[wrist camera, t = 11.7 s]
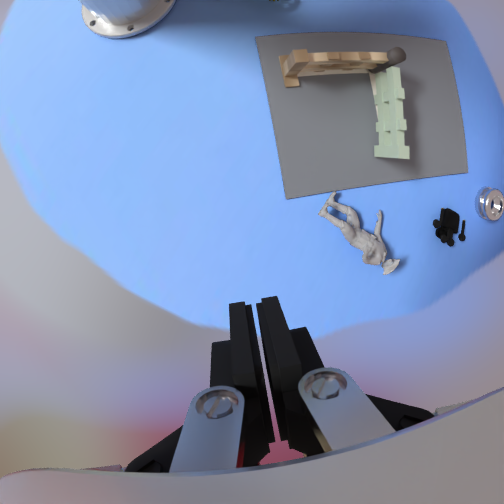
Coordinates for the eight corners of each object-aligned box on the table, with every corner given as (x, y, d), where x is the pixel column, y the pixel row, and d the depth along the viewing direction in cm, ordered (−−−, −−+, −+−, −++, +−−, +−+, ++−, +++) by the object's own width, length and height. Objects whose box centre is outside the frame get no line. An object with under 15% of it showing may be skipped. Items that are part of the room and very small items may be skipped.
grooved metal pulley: (487, 222, 40) (497, 194, 39) (499, 227, 38) (509, 198, 36) (470, 210, 40) (480, 180, 38) (483, 214, 37) (493, 183, 35)
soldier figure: (342, 176, 38) (416, 232, 37) (325, 201, 42) (395, 252, 41) (319, 212, 33) (405, 275, 32) (301, 237, 37) (381, 294, 36)
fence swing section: (370, 75, 33) (393, 64, 27) (380, 76, 33) (404, 66, 27) (374, 156, 36) (398, 158, 30) (384, 157, 36) (409, 159, 30)
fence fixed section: (375, 53, 32) (401, 38, 26) (381, 82, 33) (410, 71, 27) (278, 57, 32) (290, 37, 25) (284, 88, 33) (298, 73, 26)
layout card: (255, 37, 31) (255, 36, 31) (445, 41, 32) (446, 41, 31) (285, 199, 37) (286, 199, 37) (467, 172, 38) (468, 172, 37)
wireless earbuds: (469, 218, 39) (465, 251, 38) (458, 220, 41) (453, 251, 41) (439, 200, 38) (434, 236, 37) (427, 203, 40) (422, 237, 40)
